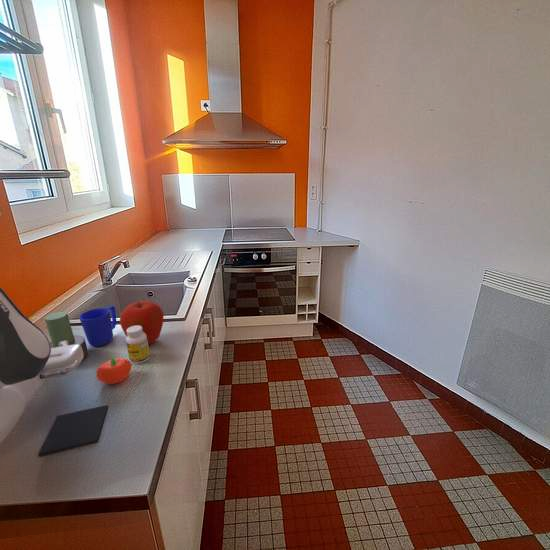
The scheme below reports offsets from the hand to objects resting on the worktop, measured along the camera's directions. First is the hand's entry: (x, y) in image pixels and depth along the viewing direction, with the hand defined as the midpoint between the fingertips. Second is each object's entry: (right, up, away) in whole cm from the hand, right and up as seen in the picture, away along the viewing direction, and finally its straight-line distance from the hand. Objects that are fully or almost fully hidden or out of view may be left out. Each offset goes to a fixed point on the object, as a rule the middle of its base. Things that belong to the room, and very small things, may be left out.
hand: (42, 346), depth 73 cm
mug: (+2, -3, +24) cm, 24 cm away
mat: (+15, -15, -11) cm, 24 cm away
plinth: (-3, -7, +14) cm, 16 cm away
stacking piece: (-3, -2, +12) cm, 13 cm away
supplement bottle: (+18, -7, +13) cm, 23 cm away
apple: (+16, -4, +21) cm, 27 cm away
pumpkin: (+16, -10, +4) cm, 19 cm away
